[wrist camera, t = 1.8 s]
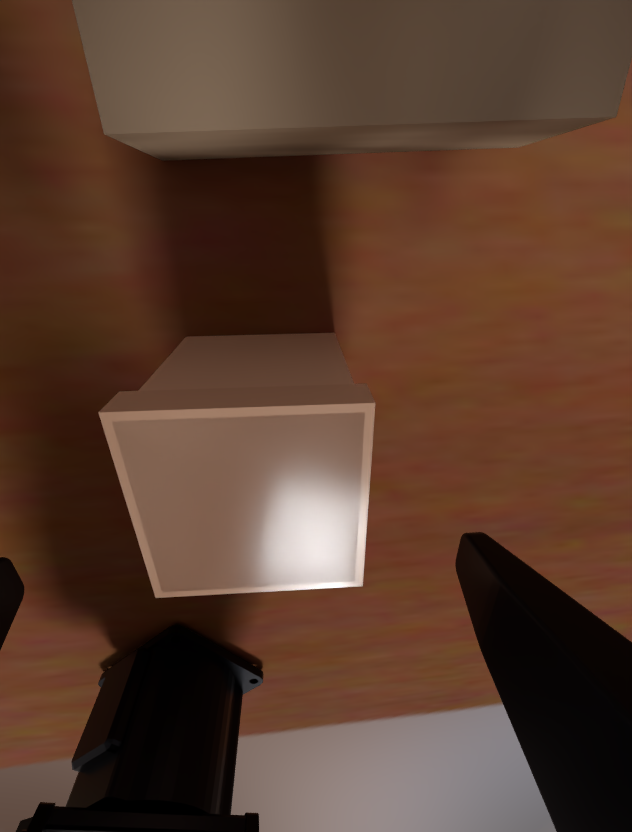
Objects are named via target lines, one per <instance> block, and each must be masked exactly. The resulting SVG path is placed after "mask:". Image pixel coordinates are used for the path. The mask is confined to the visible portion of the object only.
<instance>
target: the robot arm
mask: <svg viewBox="0 0 632 832" xmlns="http://www.w3.org/2000/svg"><path fill="white" fill-rule="evenodd" d="M456 572H457V575H458V579H459V582H460V585H461V588H462V592H463V595H464V598H465V601H466V605H467V608H468V611H469V614H470V618H471V621H472V624H473V627H474V631H475V634H476V637H477V640H478V643H479V646H480V649H481V652H482V654H483V657H484V659H485V662H486V664H487V667H488V669H489V671H490V674H491V676H492V678H493V681H494V683H495V686H496V688H497V690H498V693H499V695H500V698H501V700H502V702H503V705H504V707H505V709H506V712H507V714H508V717H509V719H510V721H511V724H512V726H513V728H514V731H515V733H516V736H517V738H518V741H519V743H520V745H521V748H522V750H523V752H524V755H525V757H526V759H527V762H528V764H529V767H530V769H531V771H532V774H533V776H534V779H535V781H536V783H537V786H538V788H539V791H540V793H541V795H542V798H543V800H544V802H545V805H546V807H547V810H548V812H549V814H550V817H551V819H552V822H553V824H554V826H555V829H556V831H557V832H632V642H631V641H629V640H628V639H627V638H625V637H624V636H623V635H621V634H620V633H619V632H617V631H616V630H614V629H613V628H612V627H610V626H609V625H608V624H606V623H605V622H604V621H602V620H601V619H600V618H598V617H597V616H596V615H594V614H593V613H592V612H590V611H589V610H588V609H586V608H585V607H584V606H582V605H581V604H579V603H578V602H577V601H575V600H574V599H573V598H571V597H570V596H569V595H567V594H566V593H565V592H563V591H562V590H561V589H559V588H558V587H557V586H555V585H554V584H553V583H551V582H550V581H548V580H547V579H546V578H544V577H543V576H542V575H540V574H539V573H538V572H536V571H535V570H534V569H532V568H531V567H530V566H528V565H527V564H526V563H524V562H523V561H522V560H520V559H519V558H518V557H516V556H515V555H513V554H512V553H511V552H509V551H508V550H507V549H505V548H504V547H503V546H501V545H500V544H499V543H497V542H496V541H495V540H493V539H492V538H491V537H489V536H488V535H486V534H485V533H482V532H475V533H464V534H463V535H462V537H461V540H460V544H459V548H458V553H457V557H456ZM23 596H24V585H23V582H22V580H21V579H20V577H19V575H18V573H17V571H16V569H15V567H14V565H13V563H12V562H11V560H9V559H8V558H5V557H0V650H1V647H2V645H3V643H4V640H5V638H6V636H7V634H8V631H9V629H10V627H11V624H12V622H13V620H14V618H15V615H16V613H17V611H18V608H19V606H20V604H21V601H22V599H23ZM262 682H263V671H261V670H260V669H258V668H256V667H255V666H253V665H251V664H249V663H248V662H246V661H244V660H242V659H240V658H239V657H237V656H235V655H233V654H232V653H230V652H228V651H226V650H224V649H223V648H221V647H219V646H217V645H216V644H214V643H212V642H210V641H208V640H207V639H205V638H203V637H201V636H200V635H198V634H196V633H194V632H192V631H191V630H189V629H187V628H185V627H183V626H180V625H174V626H171V627H169V628H168V629H166V630H165V631H163V632H162V633H160V634H159V635H158V636H156V637H155V638H153V639H152V640H150V641H149V642H147V643H146V644H144V645H143V646H142V647H140V648H139V649H137V650H135V651H134V652H133V653H131V654H130V655H128V656H127V657H125V658H124V659H122V660H121V661H119V662H118V663H116V664H115V665H114V666H112V667H111V668H109V669H108V670H107V671H105V672H104V673H103V674H102V675H101V678H100V680H99V682H98V685H99V686H100V687H101V689H100V692H99V694H98V697H97V699H96V702H95V704H94V707H93V709H92V712H91V714H90V717H89V719H88V722H87V724H86V727H85V729H84V732H83V734H82V737H81V739H80V742H79V744H78V746H77V749H76V751H75V754H74V756H73V759H72V769H73V770H75V771H78V772H79V773H78V775H77V778H76V780H75V783H74V786H73V789H72V791H71V794H70V796H69V799H68V801H67V804H66V807H59V806H55V803H45V802H40V804H39V805H38V807H37V809H36V812H35V814H34V816H33V817H31V818H28V819H25V820H22V821H20V823H19V826H18V828H17V830H16V832H259V814H258V813H245V815H231V806H232V796H233V786H234V776H235V765H236V756H237V746H238V736H239V726H240V716H241V706H242V696H243V694H245V693H247V692H248V691H250V690H252V689H254V688H255V687H257V686H259V685H260V684H262Z"/></svg>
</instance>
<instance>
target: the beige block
mask: <svg viewBox="0 0 632 832" xmlns="http://www.w3.org/2000/svg"><path fill="white" fill-rule="evenodd" d="M72 3H73V7H74V11H75V15H76V19H77V24H78V28H79V32H80V36H81V40H82V44H83V49H84V53H85V57H86V61H87V65H88V69H89V74H90V78H91V82H92V86H93V90H94V94H95V98H96V103H97V107H98V111H99V115H100V119H101V123H102V128H103V132H104V134H105V135H107V136H109V137H111V138H113V139H116V140H118V141H120V142H122V143H124V144H127V145H129V146H131V147H133V148H136V149H138V150H140V151H142V152H144V153H147V154H149V155H151V156H153V157H155V158H158V159H160V160H190V159H217V158H244V157H271V156H299V155H326V154H353V153H381V152H408V151H435V150H462V149H490V148H517V147H521V146H524V145H528V144H531V143H534V142H537V141H541V140H544V139H547V138H550V137H553V136H557V135H560V134H563V133H566V132H569V131H573V130H576V129H579V128H582V127H585V126H589V125H592V124H595V123H598V122H602V121H605V120H608V119H611V118H614V117H616V116H617V112H618V108H619V104H620V100H621V97H622V93H623V89H624V85H625V81H626V77H627V74H628V70H629V66H630V62H631V58H632V0H72Z"/></svg>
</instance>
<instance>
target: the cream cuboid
mask: <svg viewBox="0 0 632 832" xmlns="http://www.w3.org/2000/svg"><path fill="white" fill-rule="evenodd" d="M98 413H99V416H100V419H101V423H102V426H103V429H104V432H105V436H106V439H107V442H108V445H109V448H110V452H111V455H112V458H113V461H114V465H115V468H116V471H117V474H118V478H119V481H120V484H121V487H122V491H123V494H124V497H125V500H126V503H127V507H128V510H129V513H130V516H131V520H132V523H133V526H134V529H135V533H136V536H137V539H138V542H139V546H140V549H141V552H142V555H143V559H144V562H145V565H146V568H147V571H148V575H149V578H150V581H151V584H152V588H153V591H154V594H155V597H156V598H165V597H182V596H200V595H217V594H234V593H252V592H269V591H287V590H304V589H321V588H339V587H356V586H363V573H364V559H365V544H366V530H367V516H368V501H369V487H370V472H371V458H372V444H373V429H374V415H375V401H374V399H373V397H372V394H371V392H370V390H369V388H368V386H367V384H354V382H353V380H352V377H351V374H350V372H349V369H348V366H347V364H346V361H345V358H344V356H343V353H342V351H341V348H340V345H339V343H338V340H337V337H336V335H335V333H305V334H266V335H227V336H188V337H185V338H184V339H183V340H182V342H181V343H180V344H179V345H178V346H177V347H176V348H175V350H174V351H173V352H172V353H171V354H170V355H169V356H168V358H167V359H166V360H165V361H164V362H163V363H162V364H161V366H160V367H159V368H158V369H157V370H156V371H155V372H154V374H153V375H152V376H151V377H150V378H149V379H148V380H147V381H146V383H145V384H144V385H143V386H142V387H141V388H140V389H139V391H119V392H118V393H117V394H116V395H115V396H114V397H113V398H112V399H111V400H110V401H109V402H108V403H107V404H106V405H105V406H104V407H103V408H102V409H101V410H100V411H99V412H98Z"/></svg>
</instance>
